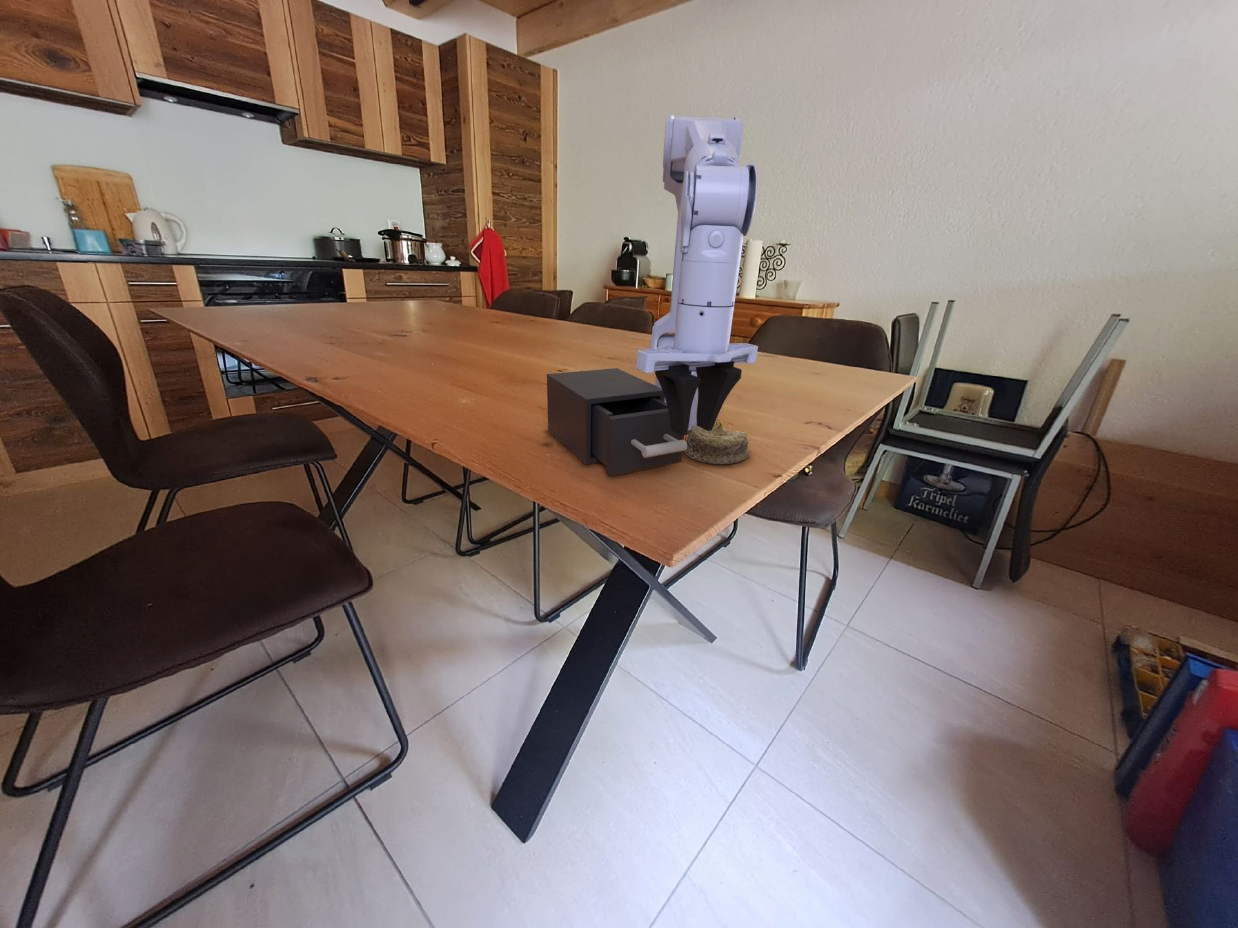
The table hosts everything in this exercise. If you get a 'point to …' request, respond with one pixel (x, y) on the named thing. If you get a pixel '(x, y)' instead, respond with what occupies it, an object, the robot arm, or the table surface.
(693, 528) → the table surface
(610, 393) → the cabinet
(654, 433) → the drawer
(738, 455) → the beige textured round mound
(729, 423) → the table surface
